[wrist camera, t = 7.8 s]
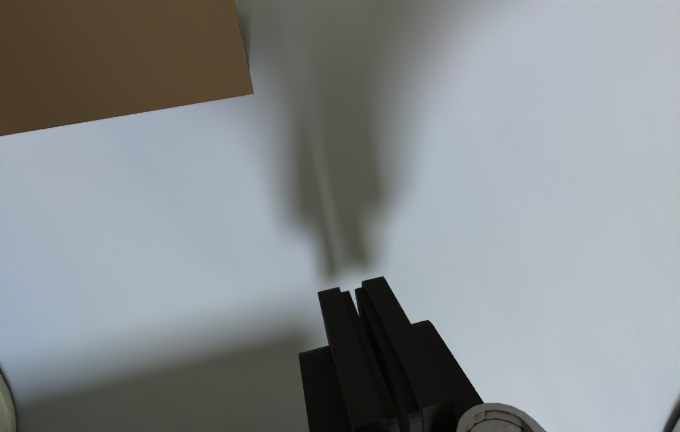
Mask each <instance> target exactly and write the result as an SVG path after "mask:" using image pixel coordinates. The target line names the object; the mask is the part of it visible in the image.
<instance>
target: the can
mask: <svg viewBox="0 0 680 432" xmlns="http://www.w3.org/2000/svg"><path fill="white" fill-rule="evenodd" d="M0 432H16V415H15V409H14V405H13V402H12V398H11V395H10V392H9V390H8V388H7V386H6V384H5V382H4V380H3V378H2V376H1V374H0Z"/></svg>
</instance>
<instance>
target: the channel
mask: <svg viewBox="0 0 680 432" xmlns="http://www.w3.org/2000/svg"><path fill="white" fill-rule="evenodd" d="M250 94H254V93H253V88H252V82H251V77H250V72H249V67H248V62H247V58H246V53H245V48H244V44H243V39H242V34H241V30H240V25H239V20H238V16H237V11H236V7H235V2H234V0H0V136H4V135H10V134H16V133H22V132H28V131H34V130H40V129H46V128H52V127H58V126H64V125H70V124H76V123H82V122H88V121H94V120H100V119H106V118H112V117H118V116H124V115H130V114H136V113H142V112H148V111H154V110H160V109H166V108H172V107H178V106H184V105H190V104H196V103H202V102H208V101H214V100H220V99H226V98H232V97H238V96H244V95H250Z"/></svg>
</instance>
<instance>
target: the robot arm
mask: <svg viewBox="0 0 680 432" xmlns="http://www.w3.org/2000/svg"><path fill="white" fill-rule="evenodd" d="M355 295H356V301H357V307H358V312H359V315H358V313H357V310H356V308H355V305H354V303H353V300H352V297H351V295H350V292H349V291H345V292H341V291H340V288H339V287H337V288H332V289H328V290H324V291H320V292H318V297H319V301H320V306H321V311H322V315H323V320H324V325H325V329H326V334H327V339H328V344H329V346H325V347H321V348H318V349H314V350H310V351H306V352H302V353H299V361H300V368H301V375H302V382H303V389H304V396H305V403H306V410H307V417H308V424H309V431H310V432H546V431H545V430H544V429H543V428H542V427H541V426H540V425H539V424H538V423H537V422H536V421H535V420H534V419H533V418H531V417H530V416H529V415H528V414H526V413H525V412H523V411H521V410H519V409H517V408H515V407H513V406H510V405H506V404H501V403H484V402H483V401H482V399H481V398H480V396H479V395H478V393H477V392H476V390H475V388H474V387H473V385H472V384H471V382H470V381H469V379H468V378H467V376H466V375H465V373H464V372H463V370H462V369H461V367H460V366H459V364H458V362H457V361H456V359H455V358H454V356H453V355H452V353H451V352H450V350H449V349H448V347H447V346H446V344H445V343H444V341H443V339H442V338H441V336H440V335H439V333H438V332H437V330H436V329H435V327H434V326H433V324H432V323H431V322H430V321H429V320H425V321H421V322H418V323H414V324H411V323H410V321H409V320H408V318H407V316H406V314H405V313H404V311H403V309H402V307H401V306H400V304H399V302H398V300H397V299H396V297H395V295H394V293H393V292H392V290H391V288H390V287H389V285H388V283H387V281H386V280H385V278H384V277H383V276H382V277H378V278H373V279H369V280H365V281H362V287H361V288H357V289H355ZM672 432H680V418H679V419H678V421H677V423H676V424H675V426H674V428H673V430H672Z"/></svg>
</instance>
